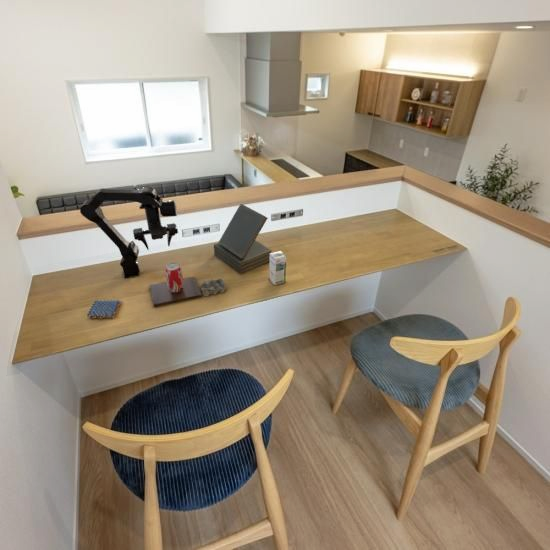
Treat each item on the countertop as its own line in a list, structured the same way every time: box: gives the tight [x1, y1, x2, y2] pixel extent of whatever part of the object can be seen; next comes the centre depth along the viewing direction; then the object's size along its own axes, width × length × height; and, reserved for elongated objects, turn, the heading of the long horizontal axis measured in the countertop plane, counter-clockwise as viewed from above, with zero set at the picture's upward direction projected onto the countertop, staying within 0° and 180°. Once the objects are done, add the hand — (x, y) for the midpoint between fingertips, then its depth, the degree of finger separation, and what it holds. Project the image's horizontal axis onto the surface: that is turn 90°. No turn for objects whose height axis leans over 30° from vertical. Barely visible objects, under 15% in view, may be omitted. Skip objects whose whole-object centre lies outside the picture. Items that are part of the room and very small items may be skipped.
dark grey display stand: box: [213, 203, 272, 275], centre depth 180 cm, size 23×20×25 cm
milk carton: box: [269, 250, 287, 286], centre depth 166 cm, size 6×6×14 cm
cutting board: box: [149, 276, 202, 308], centre depth 160 cm, size 20×15×2 cm
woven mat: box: [86, 299, 121, 320], centre depth 149 cm, size 10×11×2 cm
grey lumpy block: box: [199, 277, 227, 297], centre depth 162 cm, size 11×8×4 cm
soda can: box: [164, 262, 184, 292], centre depth 157 cm, size 7×7×12 cm
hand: (158, 247), depth 167 cm, fingers open, 9 cm apart
